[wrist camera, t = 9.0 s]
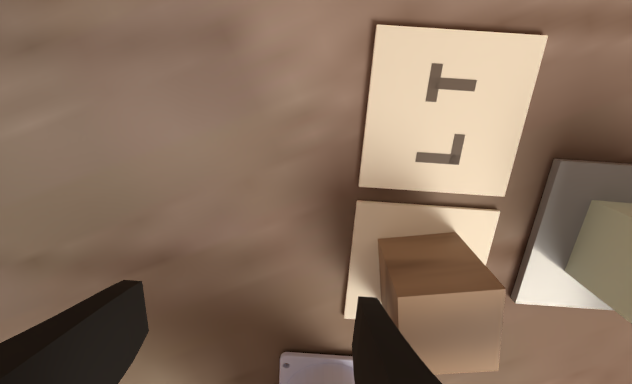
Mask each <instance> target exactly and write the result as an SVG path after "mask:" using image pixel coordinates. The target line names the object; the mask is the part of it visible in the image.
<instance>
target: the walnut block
mask: <svg viewBox="0 0 632 384" xmlns="http://www.w3.org/2000/svg"><path fill="white" fill-rule="evenodd" d="M378 253H379V271H380V289H381V303H382V306H383V307H384V309H385V310H386V312H387V313H388V315H389V316H390V318H391V319H392V321H393V322H394V324H395V325H396V327H397V328H398V329H399V331H400V332H401V334H402V335H403V336H404V338H405V339H406V340H407V342H408V343H409V344H410V346H411V347H412V348H413V350H414V351H415V352H416V353H417V355H418V356H419V357H420V359H421V360H422V361H423V362H424V363H425V365H426V366H427V367H428V368H429V369H430V371H431V372H432V373H433V374H434V375H439V374H455V373H471V372H487V371H498V369H499V358H500V347H501V337H502V326H503V316H504V305H505V294H506V289H505V287H504V286H503V285H502V284H501V283H500V282H499V281H498V279H497V278H496V277H495V276H494V275H493V274H492V273H491V271H490V270H489V269H488V268H487V267H486V266H485V265H484V264H483V262H482V261H481V260H480V259H479V258H478V257H477V256H476V254H475V253H474V252H473V251H472V250H471V249H470V248H469V246H468V245H467V244H466V243H465V242H464V241H463V240H462V239H461V237H460V236H459V235H458V234H457V233H456V232H450V233H438V234H427V235H415V236H404V237H393V238H381V239H378Z"/></svg>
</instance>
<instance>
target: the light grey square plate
mask: <svg viewBox="0 0 632 384" xmlns="http://www.w3.org/2000/svg"><path fill="white" fill-rule="evenodd" d="M592 200H598V201H610V202H622V203H632V164H627V163H612V162H597V161H582V160H567V159H554V160H553V164H552V167H551V170H550V173H549V176H548V180H547V183H546V186H545V189H544V192H543V195H542V199H541V202H540V205H539V208H538V211H537V215H536V218H535V221H534V224H533V227H532V231H531V234H530V237H529V240H528V243H527V247H526V250H525V253H524V256H523V259H522V263H521V266H520V269H519V272H518V275H517V279H516V282H515V285H514V288H513V291H512V295H511V299H512V300H513V301H514V302H515V303H517V304H531V305H546V306H560V307H575V308H589V309H604V310H613V309H612V308H611V307H609V306H608V305H607V304H606V303H604V302H603V301H602V300H601V299H599V298H598V297H597V296H595V295H594V294H593V293H592V292H590V291H589V290H588V289H587V288H585V287H584V286H583V285H581V284H580V283H579V282H578V281H576V280H575V279H574V278H572V277H571V276H570V275H569V274H567V273H566V272H565V268H566V266H567V263H568V261H569V258H570V255H571V253H572V250H573V248H574V245H575V243H576V240H577V237H578V235H579V232H580V230H581V227H582V224H583V222H584V219H585V217H586V214H587V211H588V209H589V206H590V204H591V201H592Z"/></svg>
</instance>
